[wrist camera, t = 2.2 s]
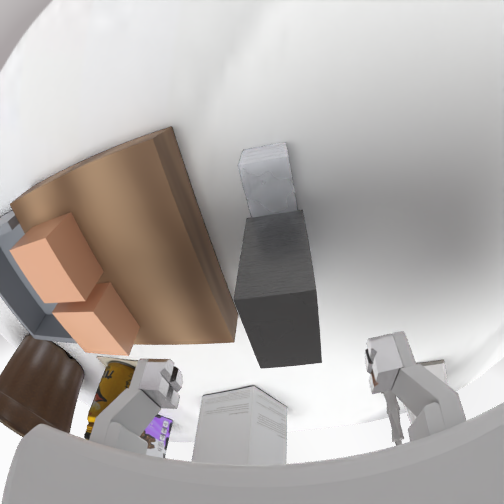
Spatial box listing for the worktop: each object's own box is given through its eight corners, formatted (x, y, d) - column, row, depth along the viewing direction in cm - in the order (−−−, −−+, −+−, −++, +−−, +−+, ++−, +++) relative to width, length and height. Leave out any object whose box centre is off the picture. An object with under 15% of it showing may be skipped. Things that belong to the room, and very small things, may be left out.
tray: (36, 196, 18) (7, 221, 15) (106, 314, 26) (92, 344, 23) (-11, 223, 20) (-33, 244, 17) (48, 315, 28) (34, 338, 25)
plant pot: (80, 344, 31) (38, 446, 18) (107, 392, 40) (83, 469, 28) (4, 311, 30) (-40, 389, 17) (39, 364, 40) (11, 429, 27)
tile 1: (110, 282, 19) (93, 311, 16) (140, 326, 22) (128, 355, 19) (68, 286, 20) (51, 312, 17) (98, 326, 22) (85, 352, 20)
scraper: (289, 141, 15) (307, 215, 8) (311, 282, 22) (322, 388, 14) (239, 150, 16) (208, 230, 9) (273, 287, 22) (270, 392, 15)
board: (171, 126, 15) (152, 138, 13) (238, 314, 24) (234, 342, 22) (32, 186, 18) (9, 204, 15) (111, 321, 27) (101, 343, 24)
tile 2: (71, 212, 15) (45, 237, 13) (103, 271, 18) (85, 301, 16) (32, 227, 16) (9, 250, 14) (62, 277, 19) (44, 303, 17)
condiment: (96, 355, 32) (67, 430, 22) (147, 360, 31) (120, 448, 21) (121, 382, 36) (100, 449, 27) (169, 388, 35) (151, 464, 25)
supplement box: (200, 394, 35) (183, 493, 23) (254, 383, 32) (244, 499, 20) (238, 416, 39) (229, 501, 27) (288, 407, 36) (286, 502, 24)
